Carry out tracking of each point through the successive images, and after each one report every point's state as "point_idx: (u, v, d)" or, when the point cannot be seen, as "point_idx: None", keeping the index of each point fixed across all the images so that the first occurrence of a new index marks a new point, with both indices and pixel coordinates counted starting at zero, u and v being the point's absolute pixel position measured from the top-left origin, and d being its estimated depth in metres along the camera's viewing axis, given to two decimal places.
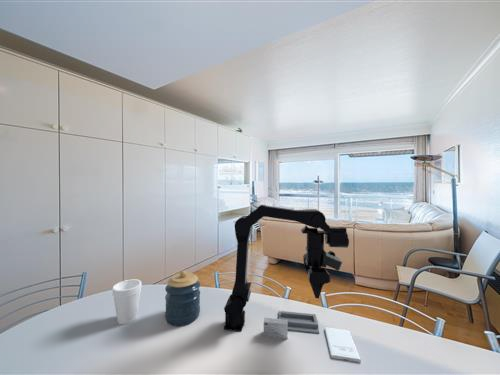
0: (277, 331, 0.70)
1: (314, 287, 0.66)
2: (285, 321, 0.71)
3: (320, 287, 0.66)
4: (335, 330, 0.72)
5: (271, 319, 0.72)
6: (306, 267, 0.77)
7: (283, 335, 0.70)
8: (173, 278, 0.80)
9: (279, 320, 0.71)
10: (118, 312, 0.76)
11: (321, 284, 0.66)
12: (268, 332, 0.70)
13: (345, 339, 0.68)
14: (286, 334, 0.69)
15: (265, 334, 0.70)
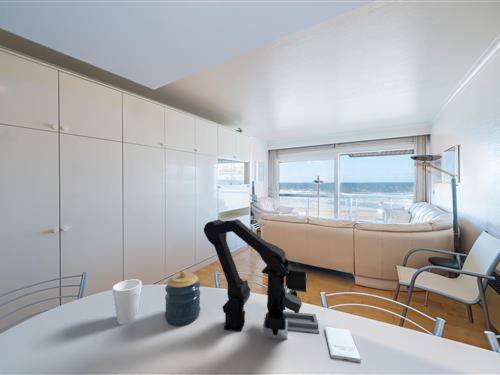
0: None
1: None
2: None
3: None
4: (335, 330, 0.72)
5: None
6: (269, 310, 0.73)
7: (283, 335, 0.70)
8: (173, 278, 0.80)
9: None
10: (118, 312, 0.76)
11: None
12: (268, 331, 0.70)
13: (345, 339, 0.68)
14: (286, 334, 0.69)
15: (265, 334, 0.70)
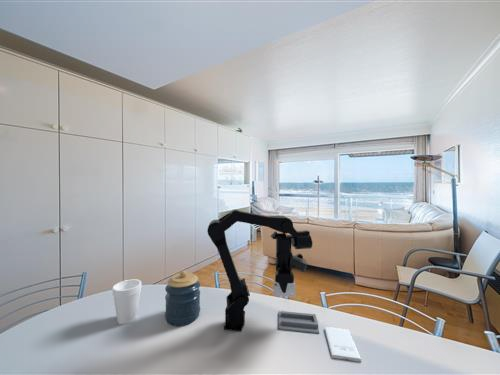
0: (286, 290, 0.77)
1: (281, 283, 0.76)
2: None
3: (286, 283, 0.76)
4: (335, 330, 0.72)
5: None
6: None
7: (291, 294, 0.77)
8: (173, 278, 0.80)
9: None
10: (118, 312, 0.76)
11: None
12: (278, 291, 0.78)
13: (345, 339, 0.68)
14: (294, 292, 0.77)
15: (275, 293, 0.78)
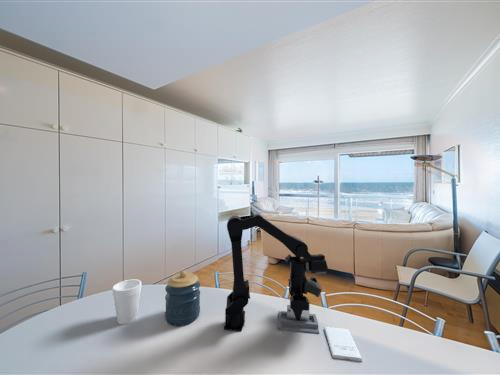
0: None
1: (295, 311, 0.74)
2: None
3: (300, 311, 0.73)
4: (335, 329, 0.72)
5: None
6: (291, 293, 0.82)
7: (305, 320, 0.76)
8: (173, 278, 0.80)
9: None
10: (118, 312, 0.76)
11: None
12: (291, 317, 0.77)
13: (345, 339, 0.68)
14: (308, 319, 0.76)
15: (288, 319, 0.77)
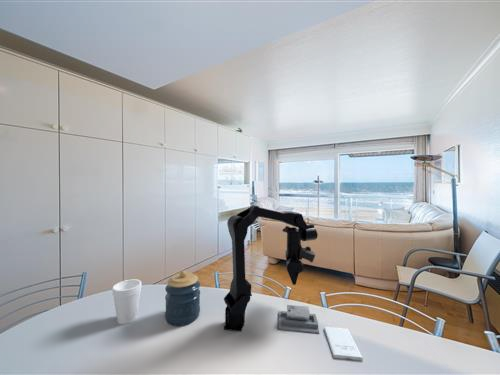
0: (300, 316, 0.77)
1: (291, 275, 0.81)
2: (307, 308, 0.78)
3: (296, 275, 0.81)
4: (335, 329, 0.73)
5: (293, 306, 0.79)
6: (287, 260, 0.92)
7: (305, 320, 0.76)
8: (173, 278, 0.80)
9: (301, 307, 0.78)
10: (118, 312, 0.76)
11: (297, 273, 0.81)
12: (291, 317, 0.77)
13: (345, 338, 0.68)
14: (308, 319, 0.76)
15: (288, 319, 0.77)
